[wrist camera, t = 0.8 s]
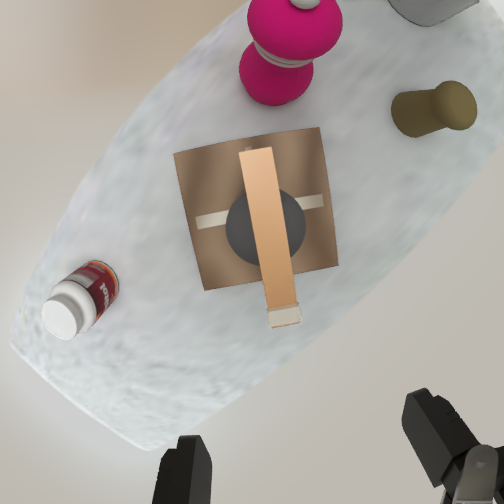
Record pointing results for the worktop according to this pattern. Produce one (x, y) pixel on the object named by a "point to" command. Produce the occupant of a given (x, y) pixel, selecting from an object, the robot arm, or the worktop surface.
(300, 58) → the pepper mill
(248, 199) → the tan long piece
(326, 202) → the square stand base
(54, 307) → the pill bottle
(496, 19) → the worktop surface
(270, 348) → the worktop surface
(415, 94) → the cork
